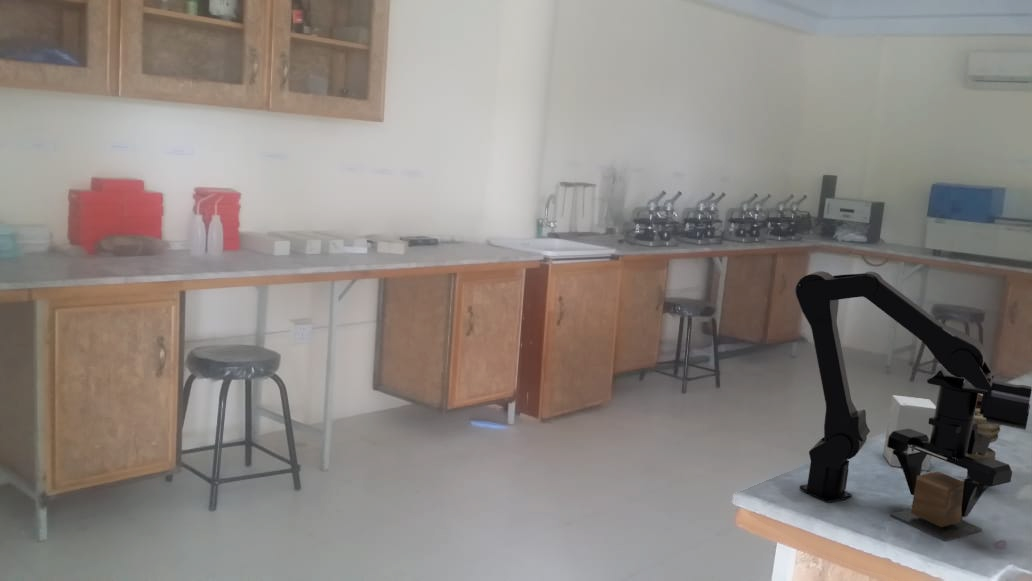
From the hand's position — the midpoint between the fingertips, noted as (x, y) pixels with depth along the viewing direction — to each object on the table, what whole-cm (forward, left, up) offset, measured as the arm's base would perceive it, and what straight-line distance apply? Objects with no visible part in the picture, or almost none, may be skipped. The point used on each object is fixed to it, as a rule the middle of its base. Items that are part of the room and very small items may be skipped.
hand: (938, 505), depth 147 cm
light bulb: (+24, +8, -3) cm, 26 cm away
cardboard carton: (0, 0, -2) cm, 2 cm away
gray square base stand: (0, 0, -3) cm, 3 cm away
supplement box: (+22, +21, -3) cm, 31 cm away
